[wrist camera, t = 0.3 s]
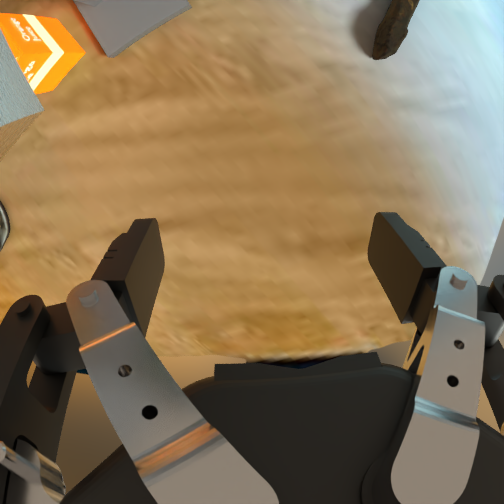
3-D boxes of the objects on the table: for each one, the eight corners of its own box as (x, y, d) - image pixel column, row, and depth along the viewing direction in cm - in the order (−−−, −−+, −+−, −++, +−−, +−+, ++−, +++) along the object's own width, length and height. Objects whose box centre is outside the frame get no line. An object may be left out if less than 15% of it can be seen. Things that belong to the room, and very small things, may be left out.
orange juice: (57, 17, 26) (-41, 11, 9) (86, 52, 30) (-13, 57, 13) (24, 57, 28) (-73, 75, 11) (52, 91, 32) (-47, 123, 15)
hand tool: (403, -40, 22) (418, -48, 19) (425, -24, 23) (441, -30, 20) (354, 48, 32) (367, 46, 28) (379, 64, 33) (394, 64, 29)
